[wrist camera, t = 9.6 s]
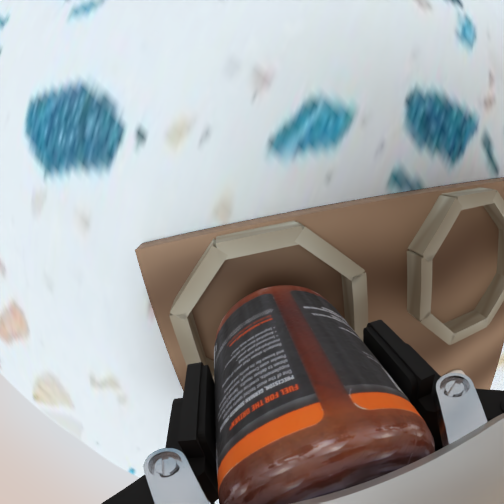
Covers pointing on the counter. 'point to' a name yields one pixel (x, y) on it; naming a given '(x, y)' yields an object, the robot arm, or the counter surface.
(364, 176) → the counter surface
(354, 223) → the board
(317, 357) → the supplement bottle
